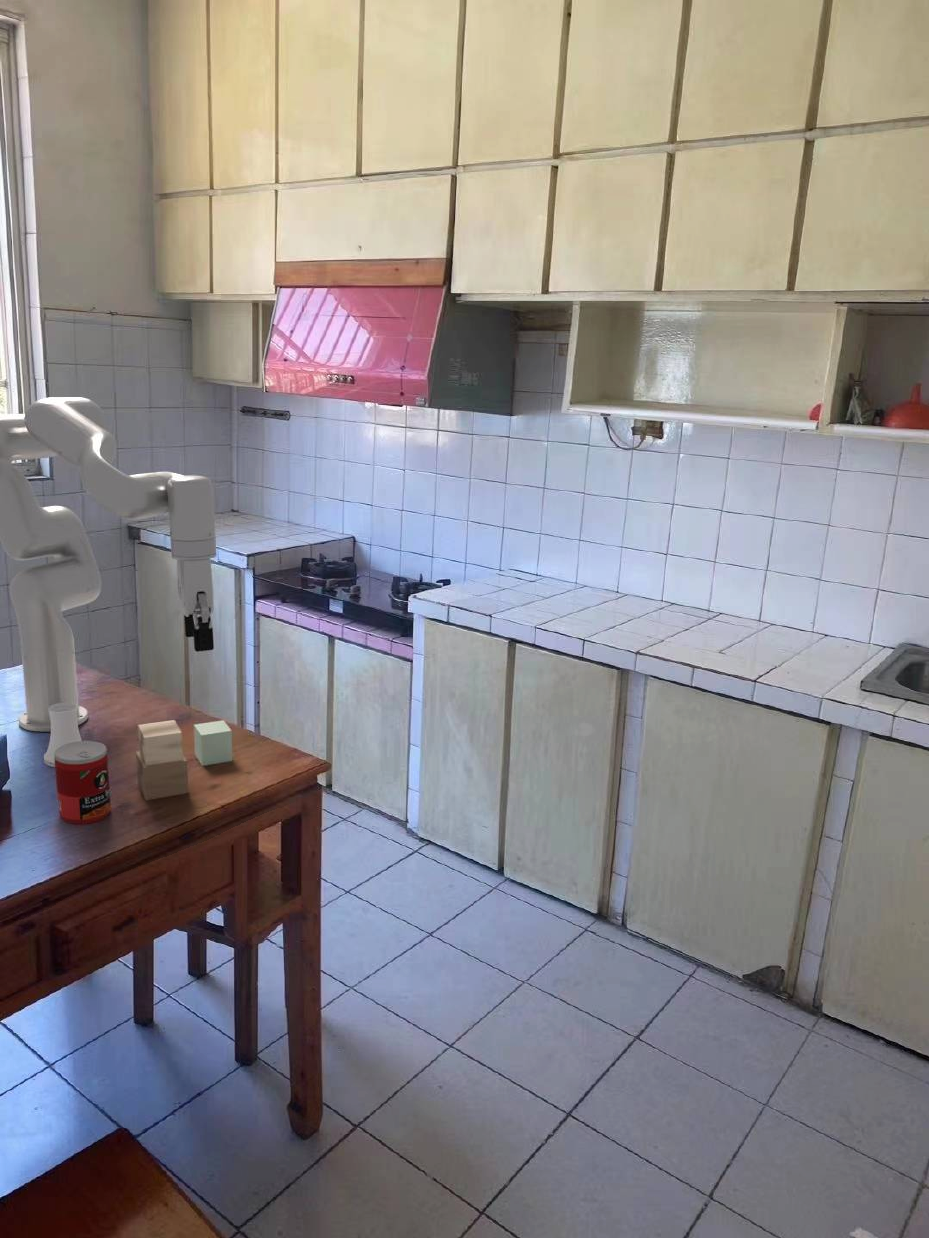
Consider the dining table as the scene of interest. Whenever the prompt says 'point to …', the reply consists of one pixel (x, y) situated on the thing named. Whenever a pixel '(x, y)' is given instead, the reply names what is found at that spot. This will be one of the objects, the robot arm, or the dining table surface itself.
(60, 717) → the vase
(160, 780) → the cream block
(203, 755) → the sage block
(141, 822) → the dining table surface
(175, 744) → the beech block
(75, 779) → the canned food
